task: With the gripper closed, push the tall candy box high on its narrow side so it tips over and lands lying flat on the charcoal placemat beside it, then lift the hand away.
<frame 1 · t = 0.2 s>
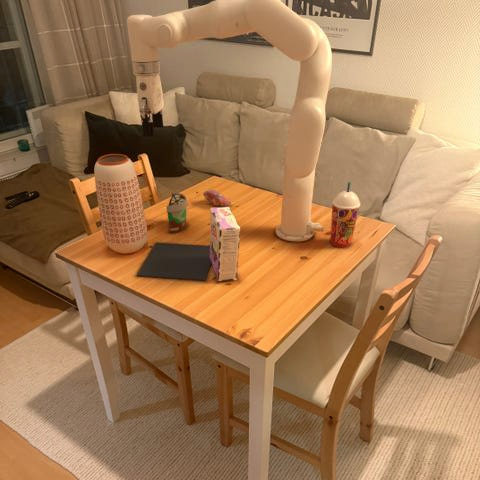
hand: (153, 131, 137), 31 cm above the table, tool pointing down, fingers open, 9 cm apart
food container: (180, 227, 156), on the table
candy box: (222, 269, 133), on the table, touching placemat
sweet potato: (216, 205, 171), on the table
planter: (128, 248, 144), on the table
smoothie: (340, 243, 146), on the table
placemat: (178, 261, 137), on the table
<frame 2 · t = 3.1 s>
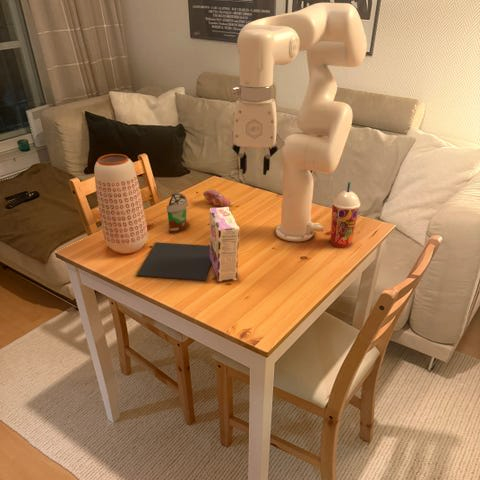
hand: (254, 171, 114), 29 cm above the table, tool pointing down, fingers open, 4 cm apart
nothing on the table moved.
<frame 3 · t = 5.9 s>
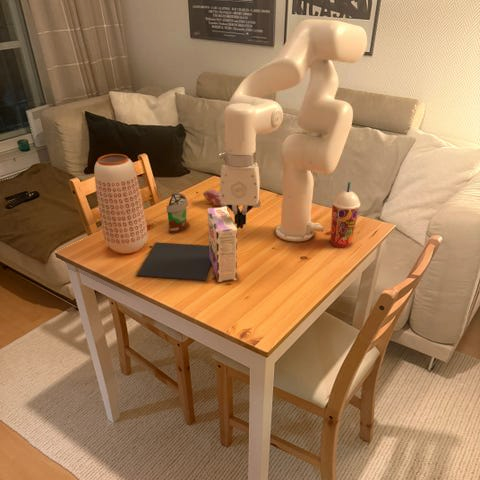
hand: (240, 226, 124), 14 cm above the table, tool pointing down, fingers closed
candy box: (222, 269, 133), on the table, touching gripper, placemat
everything else where it was.
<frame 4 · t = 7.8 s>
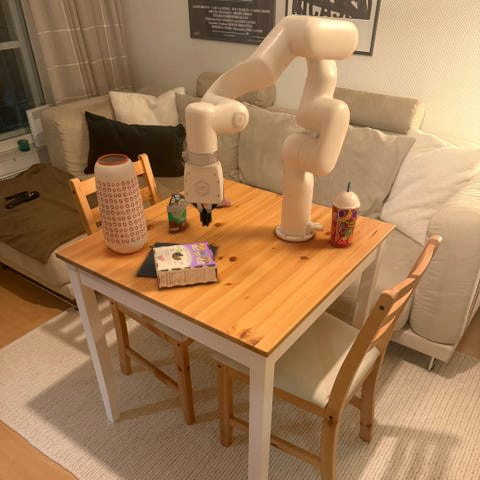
hand: (206, 224, 125), 14 cm above the table, tool pointing down, fingers closed
candy box: (213, 261, 131), point 3 cm above the table, touching placemat
everything else where it was.
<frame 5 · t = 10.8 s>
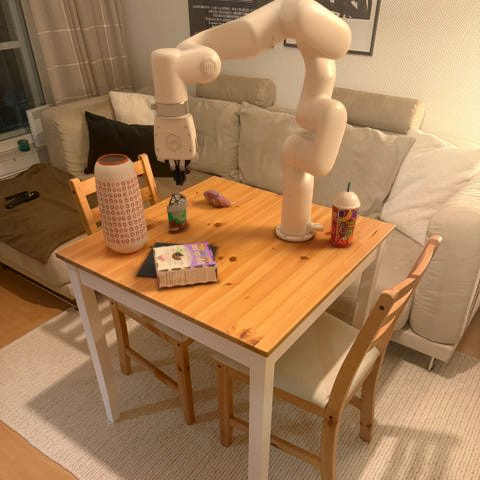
hand: (180, 183, 119), 25 cm above the table, tool pointing down, fingers closed
nothing on the table moved.
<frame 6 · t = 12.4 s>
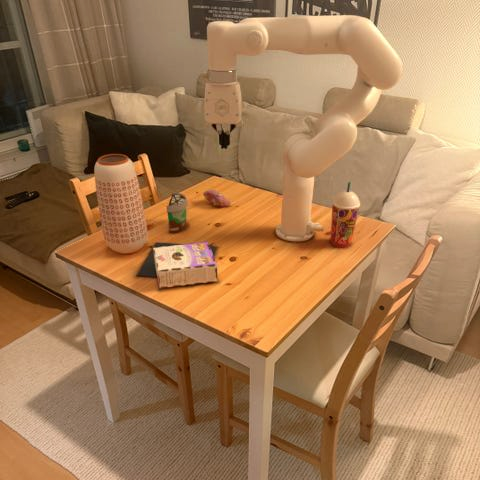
hand: (224, 147, 131), 29 cm above the table, tool pointing down, fingers closed
nothing on the table moved.
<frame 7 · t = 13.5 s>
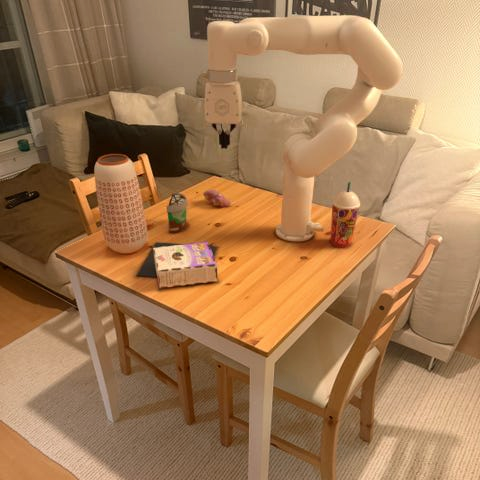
hand: (224, 147, 131), 29 cm above the table, tool pointing down, fingers closed
nothing on the table moved.
at the end: candy box tilted 89°; candy box touching placemat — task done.
